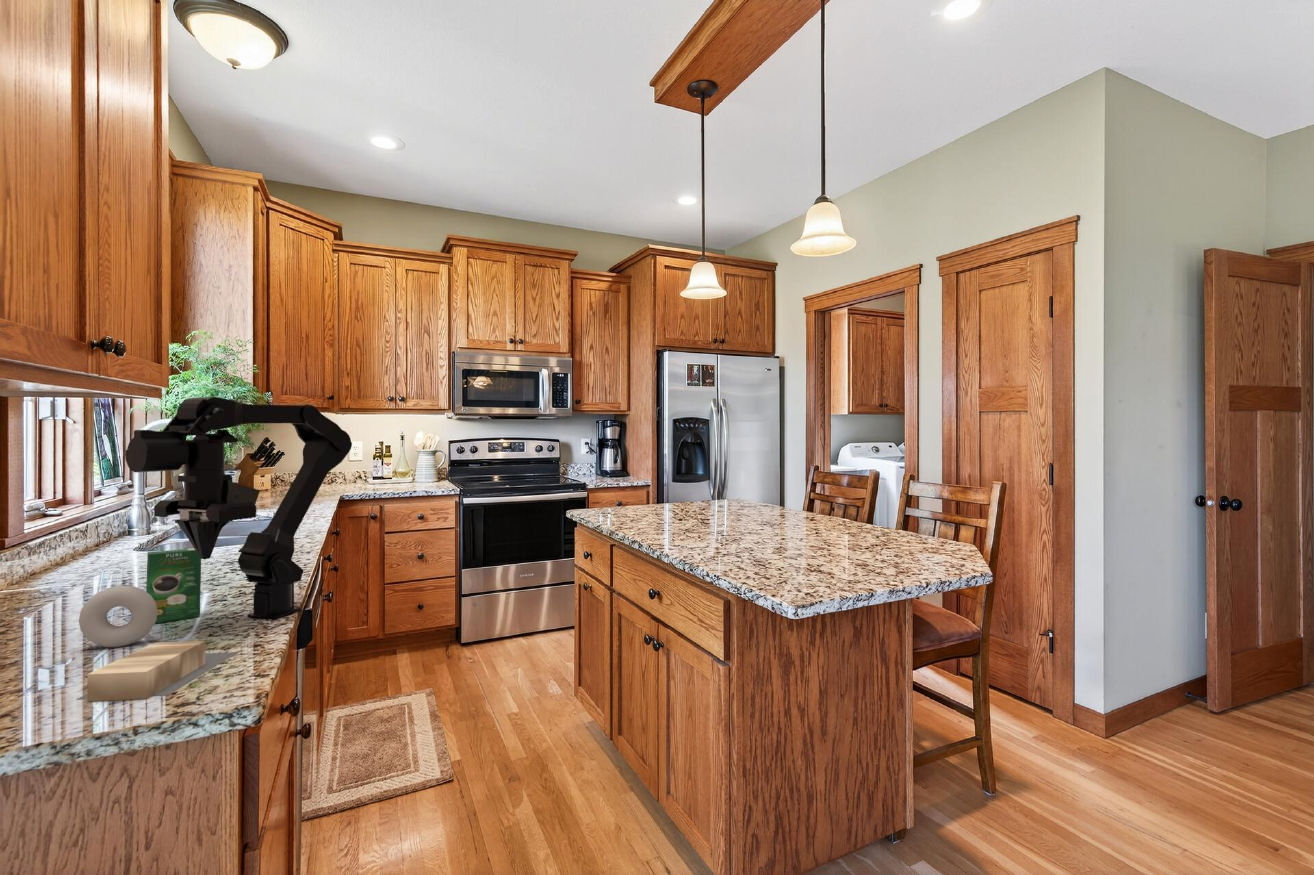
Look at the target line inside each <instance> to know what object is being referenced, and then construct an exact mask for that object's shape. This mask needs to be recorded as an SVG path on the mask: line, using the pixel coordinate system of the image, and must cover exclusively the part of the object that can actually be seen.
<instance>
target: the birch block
mask: <svg viewBox="0 0 1314 875" xmlns="http://www.w3.org/2000/svg"><path fill="white" fill-rule="evenodd" d="M205 653H206V640H191V641H189V640H187V641H164V642H163V641H162V642H161V641H159V642H154V643H153V642H152V643H151V644H149V645H147V646H145V647H142V648H140V649H138V650H137V651H134V652H132V653H130V654H128V655H126V656H123V657H121V658H118V659H117V660H115V661H113V662H110V663H109V664H106V665H104V666H102V667H100V668H98V669H96V670H94V671H91V672H89V673H87V677H86V678H87V680H86V681H87V694H88V699H87V702H105V701H106V702H107V701H125V700H126V701H127V700H128V701H129V700H143V699H144V700H145V699H148V698H150V697H153V696H152V695H154V694H155V693H157V692H159V691H160V690H162V689H164V688H166V687H167V686H169V685H171V684H172V683H174V682H176V681H178V680H179V679H181V678H183V677H184V676H186V675H188V674H189V673H191V672H193V671H195V670H196V669H198V668H200V667H201V666H203V665H205Z"/></svg>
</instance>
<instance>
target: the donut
mask: <svg viewBox="0 0 1314 875" xmlns="http://www.w3.org/2000/svg"><path fill="white" fill-rule="evenodd" d="M116 607H123V608H126V609H127V610H128V611H129V612H130V615H131V616H130V620H129V621H128V622H127V623H126V624H124V625H121V626H120V625H114V624H112V623H111V622H110V621H109V620H108V613H109V612H110V611H111V610H112V609H114V608H116ZM157 614H158V610H157V605H156V602H155V601H154V599H153V598H152V596H151V595H150V594H149V593H147V592H146V590H144V589H143V588H140V587H136V586H133V585H123V584H121V585H116V586H115V585H114V586H111V587H106V588H105V589H104V588H103V590H100V591H98V592H96V593H94V595H93V596H91V597H90V598H89V599H88V600H87V601H86V602H85V603H84V605H83V607H82V608H81V610H80V612H79V617H78V624H79V628H80V632H81V633H82V634H83V636H84V637H85V639H86V640H88V641H89V642H91V643H92V644H94V645H97V646H100V647H104V648H120V647H125V646H126V647H127V646H129V645H132V644H134V643H137V642H138V641H141V640H143V639H144V637H146V636H147V635H148V634H149V633H150V632H151V631H152V629H153V627H154V625H155V624H156V623H155V622H156V619H157Z"/></svg>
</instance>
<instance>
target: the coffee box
mask: <svg viewBox="0 0 1314 875" xmlns="http://www.w3.org/2000/svg"><path fill="white" fill-rule="evenodd" d="M146 556H147V557H146V560H147V561H146V585H145V586H146V588H145V591H146V592H147V593H149V594H150V595H151V596H152V598H153V599H154V601H155V602H156V605H157V610H158V614H157V619H156V622H155V624H162V623H166V622H172V621H179V620H187V619H193V618H198V617H200V616H201V586H202V581H201V580H202V559H201V558H200V557H199V555H198V553H197V552H196V550H195V549H194V547H192V548H181V549H169V550H161V551H159V550H158V551H148V552H147V555H146Z"/></svg>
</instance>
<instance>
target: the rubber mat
mask: <svg viewBox="0 0 1314 875" xmlns="http://www.w3.org/2000/svg"><path fill="white" fill-rule="evenodd" d="M238 653H239V651H234V652H232V651H230V652H226V651H225V652H209V653H208V652H205V665H203V666H201V667H200V668H198V669H196V670H195V671H193V672H191V673H189V674H188V675H186V676H184V677H183V678H181V679H179V680H178V681H176V682H174V683H172V684H171V685H169V686H167V687H166V688H164V689H162V690H160V691H159V692H157V693H155V694H154V695H152V696H151V697H164V696H165V697H168V696H169V695H171V694H173V693H174V692H175V691H178V690H180V689H181V688H183V687H184V686H186V685H187V684H189V683H191V682H192V681H194V680H196V679H198V678H199V677H201V676H202V675H204V674H205V673H207V672H209V671H211V670H212V669H214V668H216V667H217V666H219V665H220V664H223V663H224V662H225V661H227V660H228V659H230V658H232V657H233V656H235V655H237V654H238ZM79 700H80V701H81V700H88V693H86V694H83V695H82V696H80V697H78V698H76V701H79Z"/></svg>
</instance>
